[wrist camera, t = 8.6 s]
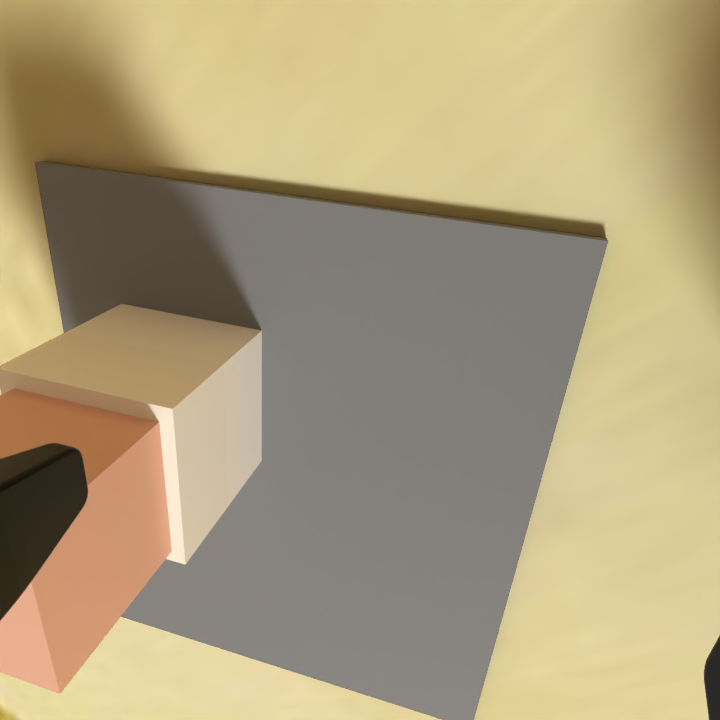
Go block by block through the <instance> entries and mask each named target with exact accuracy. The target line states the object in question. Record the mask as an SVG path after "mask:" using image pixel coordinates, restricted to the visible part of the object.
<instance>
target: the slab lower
mask: <svg viewBox="0 0 720 720" xmlns="http://www.w3.org/2000/svg"><path fill="white" fill-rule="evenodd" d="M67 332H71V333H75V334H80V335H85V336H90V337H95V338H100V339H104V340H109V341H114V342H119V343H124V344H129V345H133V346H138V347H143V348H148V349H153V350H158V351H162V352H167V353H172V354H177V355H182V356H187V357H191V358H196V359H201V360H206V361H211V362H216V363H220V364H224V390H225V421H226V451H227V482H228V506H229V505H230V503H231V502H232V500H233V499H234V498H235V496H236V495H237V494H238V492H239V491H240V490H241V488H242V487H243V485H244V484H245V483H246V481H247V480H248V479H249V477H250V476H251V475H252V473H253V472H254V470H255V469H256V468H257V466H258V465H259V464H260V462H261V461H262V330H256V329H251V328H246V327H241V326H235V325H230V324H225V323H220V322H214V321H209V320H204V319H199V318H193V317H188V316H183V315H178V314H173V313H167V312H162V311H157V310H152V309H146V308H141V307H136V306H131V305H125V304H120V305H118V306H116V307H114V308H112V309H110V310H108V311H106V312H104V313H102V314H101V315H99V316H97V317H95V318H93V319H91V320H89V321H87V322H85V323H83V324H81V325H79V326H77V327H75V328H73V329H71V330H69V331H67Z"/></svg>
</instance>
